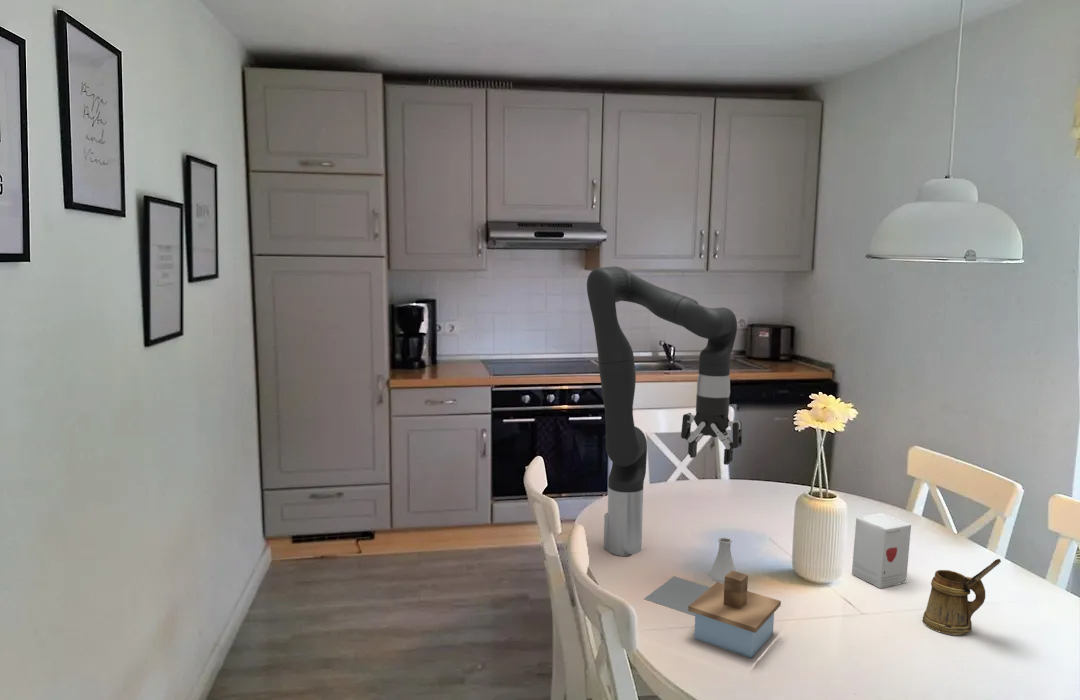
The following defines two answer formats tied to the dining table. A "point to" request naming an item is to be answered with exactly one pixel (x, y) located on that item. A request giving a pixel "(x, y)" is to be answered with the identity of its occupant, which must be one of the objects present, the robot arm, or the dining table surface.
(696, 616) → the blue storage bin
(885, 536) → the supplement box
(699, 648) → the dining table surface
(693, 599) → the rubber mat
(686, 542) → the dining table surface
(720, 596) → the walnut lid
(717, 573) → the flask
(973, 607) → the wooden mug
